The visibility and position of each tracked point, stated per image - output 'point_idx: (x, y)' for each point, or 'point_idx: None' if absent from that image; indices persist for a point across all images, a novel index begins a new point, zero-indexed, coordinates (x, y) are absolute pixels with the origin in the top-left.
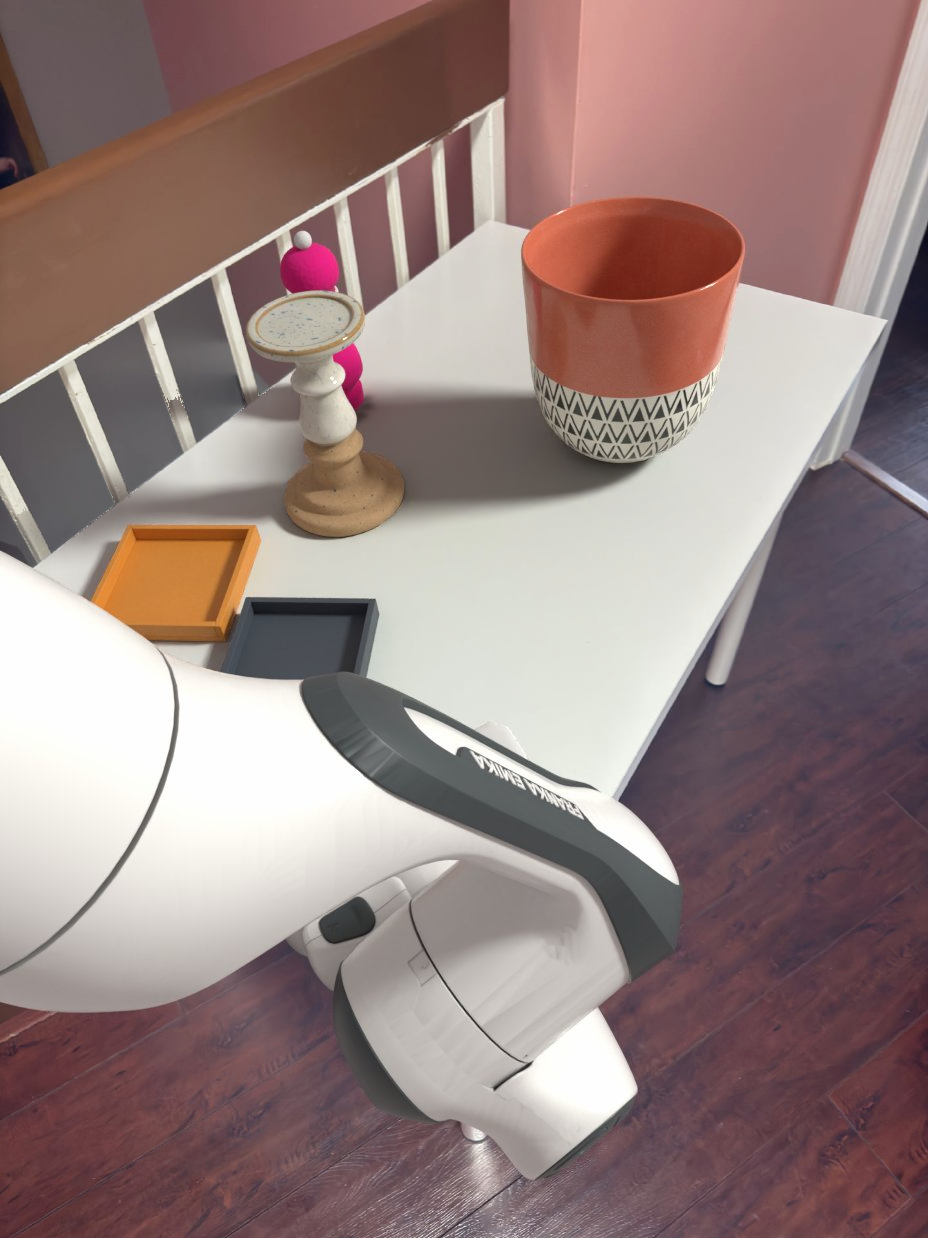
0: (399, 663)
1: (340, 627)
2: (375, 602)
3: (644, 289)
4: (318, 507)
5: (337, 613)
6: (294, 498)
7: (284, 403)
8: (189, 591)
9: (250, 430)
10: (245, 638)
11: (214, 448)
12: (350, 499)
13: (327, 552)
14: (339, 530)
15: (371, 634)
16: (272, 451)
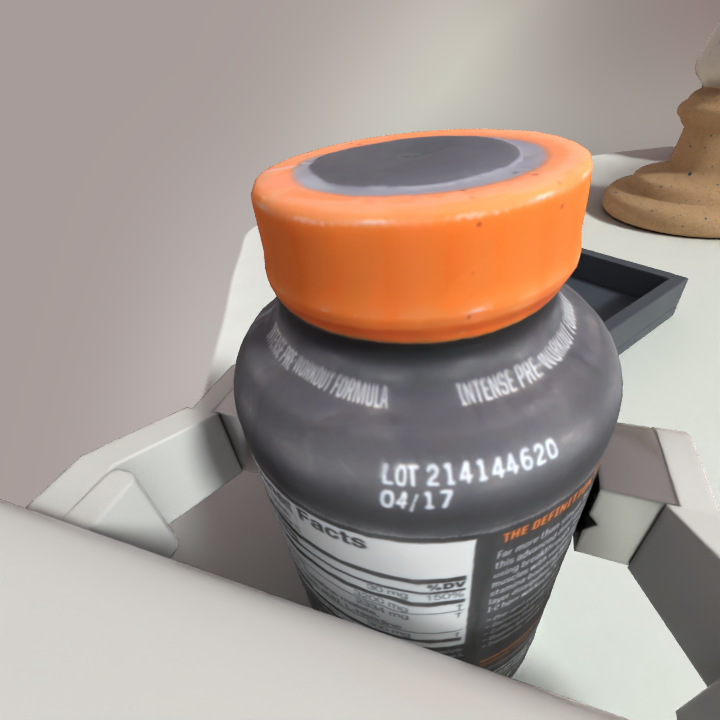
0: (674, 390)
1: (592, 299)
2: (684, 282)
3: None
4: (651, 187)
5: (599, 283)
6: (622, 183)
7: (658, 152)
8: None
9: (607, 159)
10: None
11: None
12: (708, 187)
13: (629, 239)
14: (665, 219)
15: (645, 320)
16: (620, 171)
